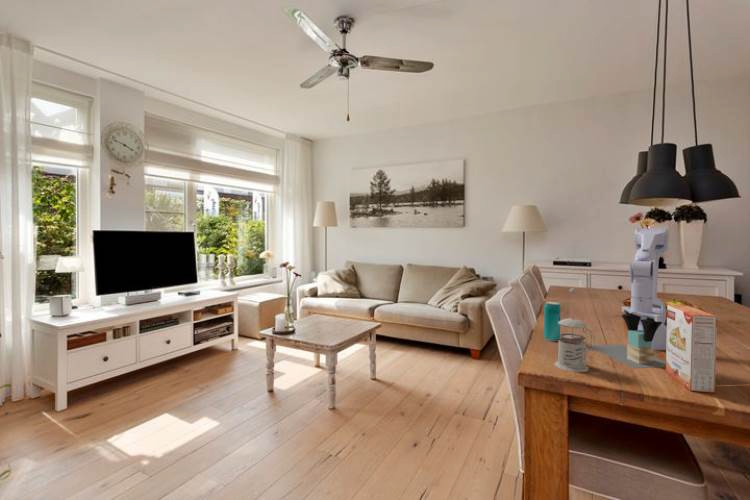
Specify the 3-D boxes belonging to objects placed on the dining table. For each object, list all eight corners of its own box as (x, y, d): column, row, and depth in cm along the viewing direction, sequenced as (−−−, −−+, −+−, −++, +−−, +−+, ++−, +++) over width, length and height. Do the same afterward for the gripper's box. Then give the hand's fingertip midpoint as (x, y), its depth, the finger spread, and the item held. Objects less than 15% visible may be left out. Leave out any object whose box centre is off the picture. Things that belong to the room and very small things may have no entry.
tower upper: (641, 350, 123) (641, 343, 123) (653, 355, 118) (653, 347, 118) (627, 351, 123) (627, 343, 123) (639, 356, 118) (639, 348, 118)
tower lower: (640, 357, 123) (641, 350, 123) (653, 363, 118) (653, 355, 118) (626, 358, 123) (627, 351, 123) (638, 363, 118) (639, 356, 118)
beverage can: (561, 342, 142) (562, 304, 141) (545, 341, 143) (546, 303, 143) (557, 338, 148) (558, 301, 147) (542, 337, 149) (542, 301, 148)
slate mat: (621, 345, 138) (621, 344, 138) (676, 367, 115) (676, 366, 115) (585, 346, 137) (585, 345, 137) (634, 369, 114) (634, 368, 114)
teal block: (640, 343, 123) (640, 330, 123) (651, 347, 119) (651, 333, 118) (627, 343, 123) (627, 330, 123) (638, 347, 118) (638, 334, 118)
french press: (549, 360, 122) (550, 286, 121) (584, 361, 122) (586, 286, 120) (563, 372, 112) (564, 290, 111) (602, 372, 112) (603, 290, 111)
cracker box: (663, 372, 111) (666, 304, 111) (687, 374, 110) (690, 305, 109) (688, 391, 98) (690, 313, 97) (716, 394, 96) (718, 315, 95)
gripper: (613, 294, 127) (612, 332, 127) (648, 301, 112) (647, 345, 113) (633, 293, 127) (632, 332, 128) (670, 301, 113) (668, 344, 113)
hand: (640, 338), depth 120 cm, fingers open, 6 cm apart
